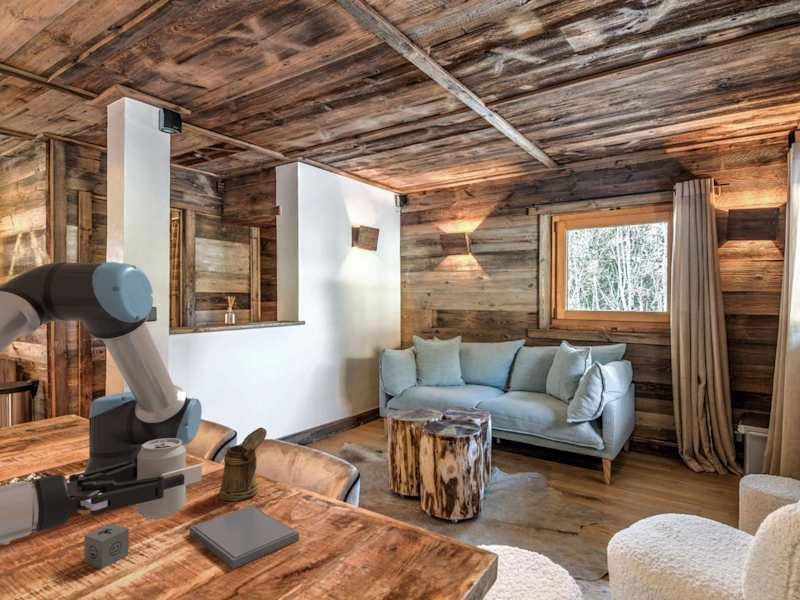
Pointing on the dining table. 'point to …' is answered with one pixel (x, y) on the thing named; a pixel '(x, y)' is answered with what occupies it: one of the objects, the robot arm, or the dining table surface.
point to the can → (152, 464)
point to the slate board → (243, 535)
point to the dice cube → (106, 546)
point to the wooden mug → (241, 468)
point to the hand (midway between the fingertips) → (190, 466)
